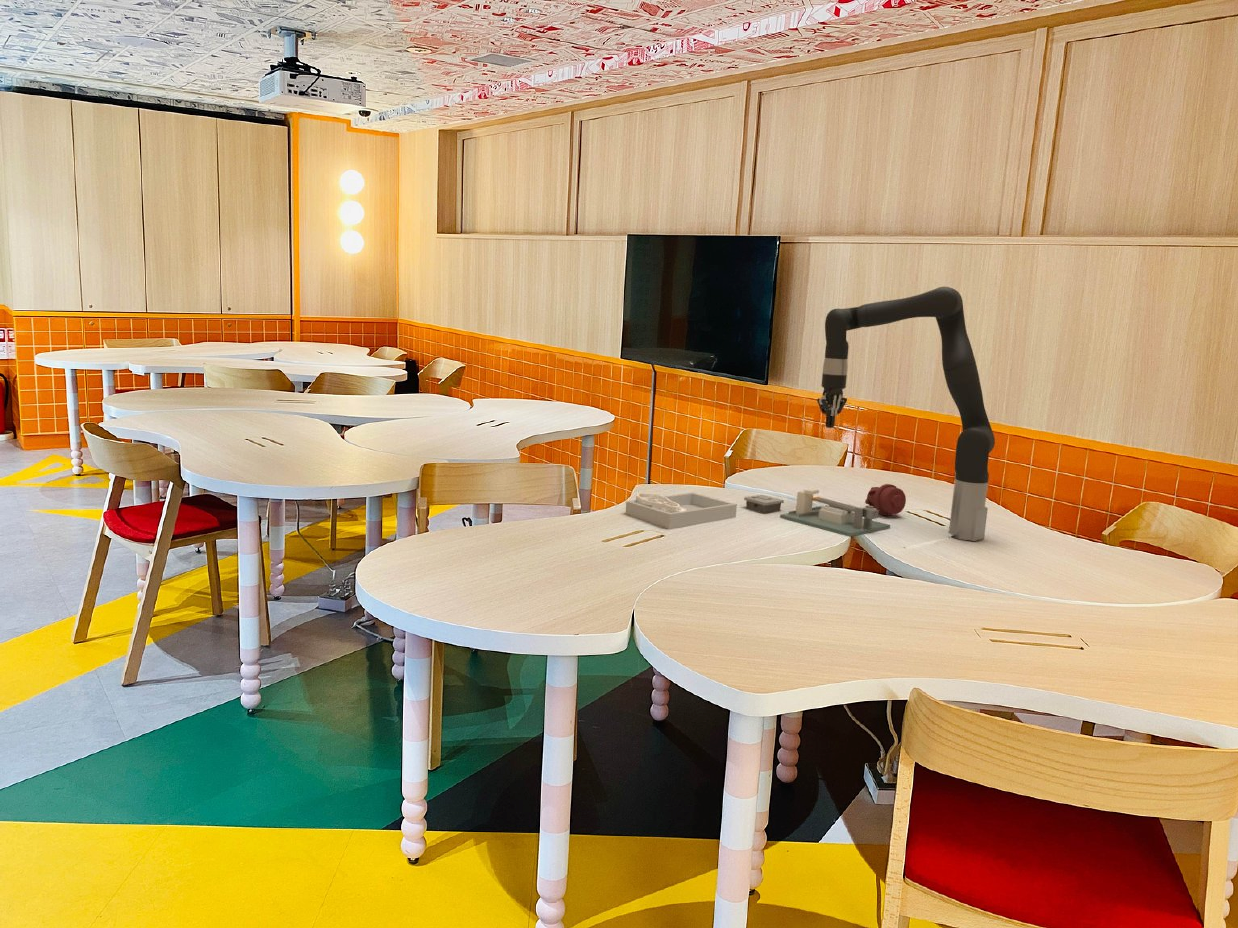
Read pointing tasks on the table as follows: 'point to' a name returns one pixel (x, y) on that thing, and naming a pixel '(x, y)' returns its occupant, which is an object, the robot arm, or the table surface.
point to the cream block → (805, 501)
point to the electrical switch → (763, 503)
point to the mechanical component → (886, 499)
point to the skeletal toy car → (659, 502)
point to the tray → (696, 511)
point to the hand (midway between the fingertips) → (829, 427)
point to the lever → (849, 507)
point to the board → (835, 526)
